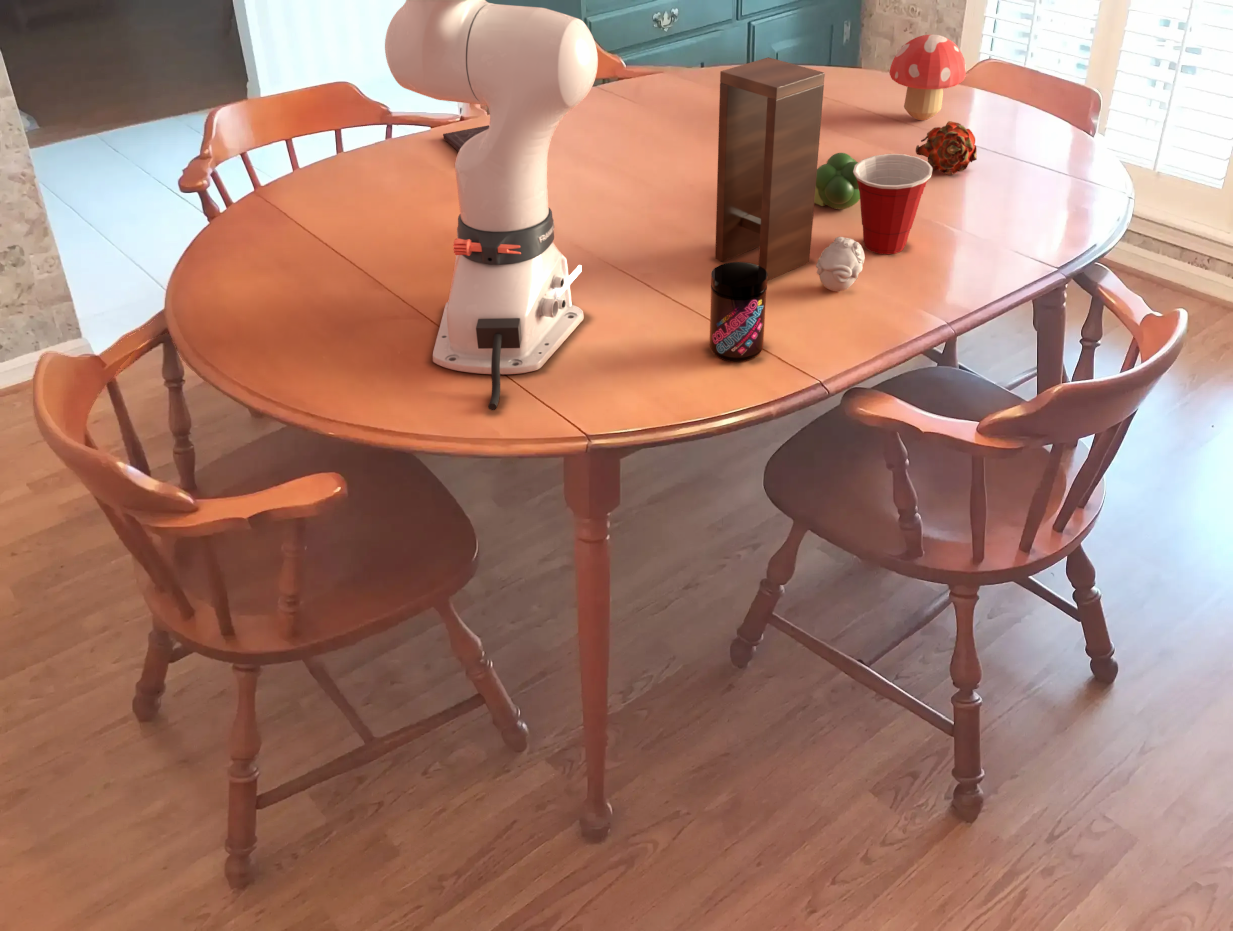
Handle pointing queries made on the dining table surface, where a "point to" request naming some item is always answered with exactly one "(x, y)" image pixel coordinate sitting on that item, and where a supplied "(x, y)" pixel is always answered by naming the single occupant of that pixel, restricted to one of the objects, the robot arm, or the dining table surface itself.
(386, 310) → the dining table surface
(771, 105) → the wooden stand
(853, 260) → the white rounded carved piece
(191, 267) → the dining table surface
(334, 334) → the dining table surface
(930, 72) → the decorative mushroom
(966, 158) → the dragon fruit
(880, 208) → the plastic cup
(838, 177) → the broccoli
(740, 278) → the supplement container
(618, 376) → the dining table surface
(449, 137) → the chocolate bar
